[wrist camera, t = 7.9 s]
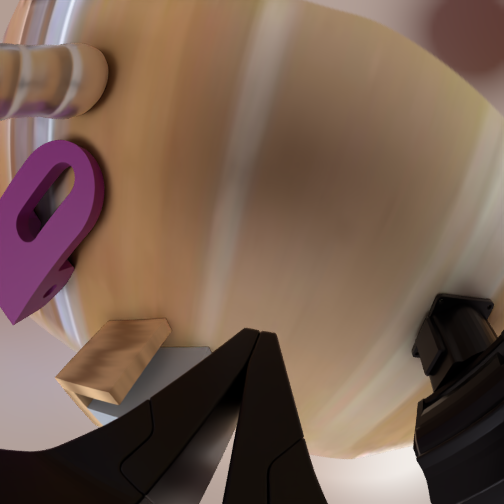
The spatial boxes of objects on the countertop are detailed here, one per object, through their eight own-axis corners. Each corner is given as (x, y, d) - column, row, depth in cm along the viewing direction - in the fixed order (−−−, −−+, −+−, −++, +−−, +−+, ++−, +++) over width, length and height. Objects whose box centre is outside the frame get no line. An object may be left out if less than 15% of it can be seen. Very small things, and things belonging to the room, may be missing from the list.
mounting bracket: (96, 139, 27) (12, 246, 27) (60, 119, 18) (-30, 255, 18) (144, 199, 28) (51, 302, 28) (116, 193, 20) (13, 325, 20)
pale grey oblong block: (206, 342, 26) (161, 425, 17) (223, 375, 28) (188, 454, 19) (132, 343, 29) (83, 404, 20) (150, 372, 31) (110, 433, 22)
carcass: (165, 318, 26) (108, 392, 17) (194, 371, 28) (154, 444, 20) (108, 320, 29) (54, 377, 20) (136, 367, 31) (95, 425, 22)
